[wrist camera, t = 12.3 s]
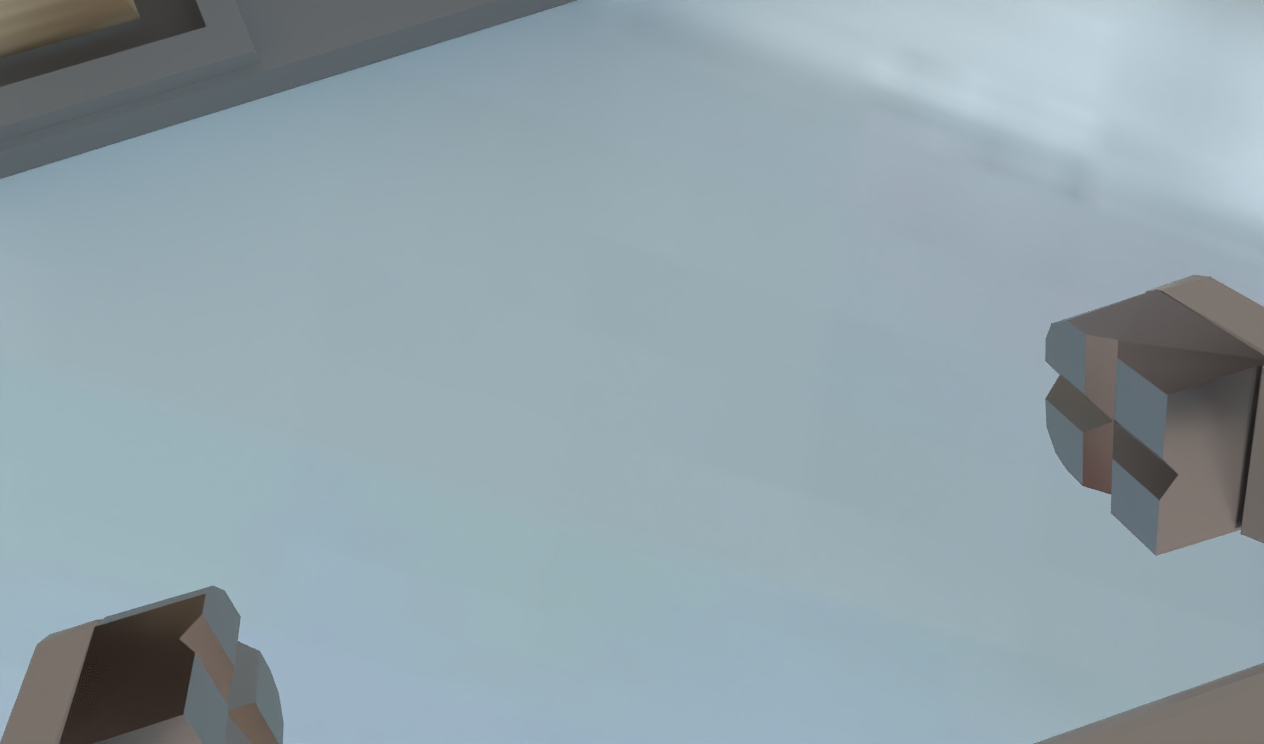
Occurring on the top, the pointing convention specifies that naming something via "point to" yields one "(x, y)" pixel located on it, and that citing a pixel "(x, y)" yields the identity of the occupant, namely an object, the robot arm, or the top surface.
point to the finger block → (57, 21)
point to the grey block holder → (208, 64)
